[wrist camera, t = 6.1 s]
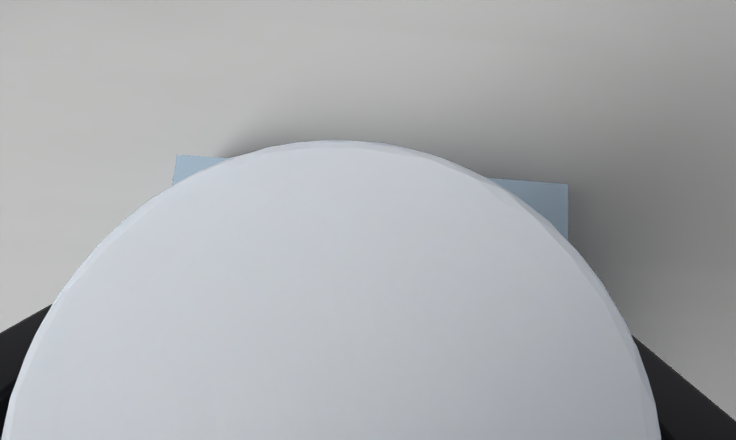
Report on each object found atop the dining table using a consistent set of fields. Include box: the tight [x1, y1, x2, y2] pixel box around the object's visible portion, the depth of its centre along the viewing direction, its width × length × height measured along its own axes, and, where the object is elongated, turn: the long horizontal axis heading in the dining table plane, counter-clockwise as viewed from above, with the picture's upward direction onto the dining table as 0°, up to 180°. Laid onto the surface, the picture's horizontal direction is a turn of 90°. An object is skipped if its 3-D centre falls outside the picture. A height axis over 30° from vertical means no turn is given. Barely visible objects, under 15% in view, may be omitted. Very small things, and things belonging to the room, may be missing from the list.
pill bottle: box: [1, 139, 661, 440], centre depth 10 cm, size 6×6×12 cm
